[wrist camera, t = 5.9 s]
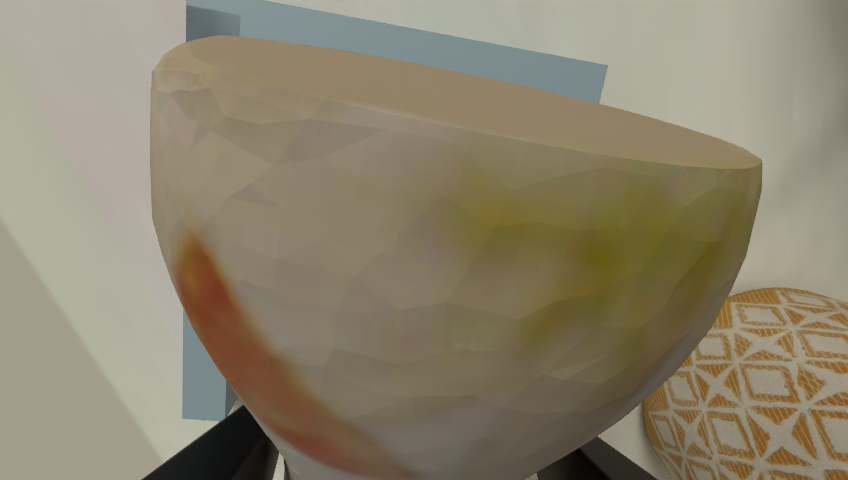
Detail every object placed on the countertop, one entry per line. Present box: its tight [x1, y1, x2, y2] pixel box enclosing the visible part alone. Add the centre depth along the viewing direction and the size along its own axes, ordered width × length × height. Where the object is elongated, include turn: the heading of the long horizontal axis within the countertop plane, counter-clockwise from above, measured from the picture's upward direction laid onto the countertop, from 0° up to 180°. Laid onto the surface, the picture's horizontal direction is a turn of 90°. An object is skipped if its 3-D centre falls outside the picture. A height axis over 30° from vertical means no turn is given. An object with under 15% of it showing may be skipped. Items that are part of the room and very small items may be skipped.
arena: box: [182, 0, 608, 421], centre depth 16 cm, size 13×14×3 cm
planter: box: [643, 288, 848, 480], centre depth 16 cm, size 13×13×10 cm
